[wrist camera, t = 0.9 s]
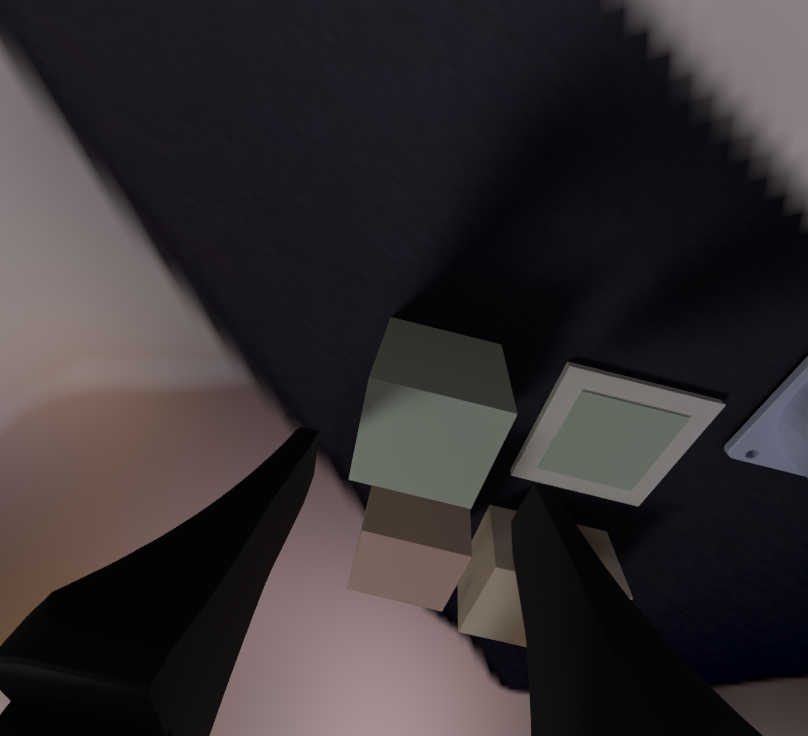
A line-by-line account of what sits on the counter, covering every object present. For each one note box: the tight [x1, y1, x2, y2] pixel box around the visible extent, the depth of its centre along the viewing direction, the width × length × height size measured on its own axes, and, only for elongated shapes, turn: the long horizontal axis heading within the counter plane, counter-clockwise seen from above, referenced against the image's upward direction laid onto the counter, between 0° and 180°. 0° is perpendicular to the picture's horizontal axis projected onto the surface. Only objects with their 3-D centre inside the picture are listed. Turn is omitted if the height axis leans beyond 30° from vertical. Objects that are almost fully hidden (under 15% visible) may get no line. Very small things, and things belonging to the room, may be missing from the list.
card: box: [510, 362, 725, 506], centre depth 18 cm, size 7×7×1 cm
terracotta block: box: [347, 485, 472, 611], centre depth 20 cm, size 5×5×5 cm
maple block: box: [458, 505, 633, 647], centre depth 22 cm, size 7×7×4 cm
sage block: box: [349, 317, 517, 509], centre depth 16 cm, size 5×5×5 cm
